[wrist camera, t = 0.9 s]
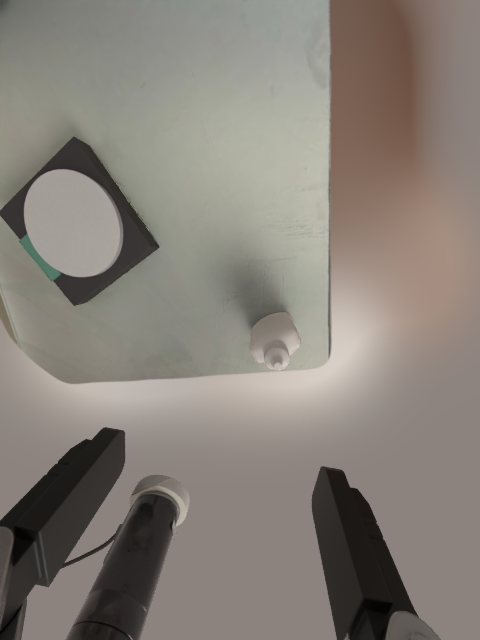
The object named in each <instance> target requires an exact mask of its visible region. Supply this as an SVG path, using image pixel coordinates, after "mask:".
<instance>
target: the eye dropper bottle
mask: <svg viewBox="0 0 480 640" xmlns="http://www.w3.org/2000/svg"><path fill="white" fill-rule="evenodd" d="M300 345H301V339H300V336H299V334H298V332H297V329H296V327H295V325H294V323H293V320H292V318H291V316H290V314H289V313H287V312H279V313H273V314H270V315H268V316H265V317H264V318H262V319H261V320H259V321H258V322H257V323H256V324H255V325H254V326H253V327H252V331H251V338H250V352H251V354H252V356H253V358H254V359H255V361H256V362H259V363H265V364H266V365H267V366H268V367H269V368H270V369H272V370H277V371H279V370H283V369H284V368H286V367H287V366H288V364H289V361H290V355H291V354H293V353H294V352H295V351H296V350H297V349H298V348H299V347H300Z"/></svg>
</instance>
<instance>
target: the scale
mask: <svg viewBox="0 0 480 640" xmlns="http://www.w3.org/2000/svg"><path fill="white" fill-rule="evenodd" d="M0 216H1V217H2V218H3V219H4V220H5V222H6V223H7V224H8V225H9V227H10V228H11V229H12V230H13V232H14V233H15V234H16V235H17V236H18V238H19V239H20V241H19V242H20V243H21V244H22V246H23V247H24V248H25V249H26V251H27V252H28V253H29V254H30V255H31V257H32V258H33V259H34V260H35V262H36V263H37V264H38V265H39V267H40V268H41V269H42V270H43V271H44V273H45V274H46V275H47V276H48V278H49V279H50V280H51V281H54V282H55V283H56V285H57V286H58V287H59V288H60V289H61V291H62V292H63V293H64V294H65V296H66V297H67V298H68V299H69V301H70V302H71V303H72V304H73V305H74V306H75V305H79V304H83V303H86V302H88V301H89V300H90V299H92V298H93V297H94V296H96V295H97V294H98V293H100V292H101V291H102V290H104V289H105V288H106V287H108V286H109V285H110V284H112V283H113V282H114V281H115V280H117V279H118V278H119V277H121V276H122V275H123V274H125V273H126V272H127V271H129V270H130V269H131V268H133V267H134V266H135V265H137V264H138V263H139V262H141V261H142V260H143V259H145V258H146V257H147V256H149V255H150V254H151V253H153V252H154V251H155V250H156V249H158V248H159V246H158V244H157V243H156V242H155V240H154V239H153V237H152V236H151V234H150V233H149V231H148V230H147V229H146V227H145V226H144V224H143V223H142V221H141V220H140V218H139V217H138V216H137V214H136V213H135V211H134V210H133V208H132V207H131V205H130V204H129V203H128V201H127V200H126V198H125V197H124V195H123V194H122V192H121V191H120V190H119V188H118V187H117V185H116V184H115V182H114V181H113V179H112V178H111V177H110V175H109V174H108V172H107V171H106V169H105V168H104V166H103V165H102V164H101V162H100V161H99V159H98V158H97V156H96V155H95V153H94V152H93V151H92V149H91V148H90V146H89V145H87V144H86V143H84V142H82V141H81V140H79V139H78V138H76V137H73V138H72V139H71V140H70V141H69V142H68V143H67V144H66V145H65V146H64V147H63V148H62V149H61V150H60V151H59V152H58V153H57V154H56V155H55V156H54V157H53V158H52V159H51V160H50V161H49V162H48V163H47V164H46V165H45V166H44V167H43V168H42V169H41V170H40V171H39V172H38V173H37V174H36V175H35V176H34V177H33V178H32V179H31V180H30V181H29V182H28V183H27V184H26V185H25V186H24V187H23V188H22V189H21V190H20V191H19V192H18V193H17V194H16V195H15V196H14V197H13V198H12V199H11V200H10V201H9V202H8V203H7V204H6V205H5V206H4V207H3V208H2V209H1V210H0Z"/></svg>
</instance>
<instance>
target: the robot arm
mask: <svg viewBox="0 0 480 640" xmlns="http://www.w3.org/2000/svg"><path fill="white" fill-rule="evenodd" d="M124 463H125V432H124V431H123V430H118V429H112V428H106V427H105V428H103V429H101V430H100V431H99V433H98V434H97V435H96V436H95V437H94V438H93V439H92V440H88V439H86V440H84V441H82V442H81V443H79V444H77V445H76V446H74V447H73V448H71V449H70V450H69V451H68V452H67V453H66V454H65V455H64V456H63V457H62V458H61V459H60V460H59V461H58V463H57V464H55V465H54V466H53V467H52V468H51V469H50V470H49V472H48V473H47V475H44V477H43V478H42V479H41V480H40V481H39V482H38V483H37V484H36V485H35V486H34V487H33V488H32V489H31V490H30V491H29V492H28V493H27V494H26V495H25V496H24V497H23V498H22V499H21V500H20V501H19V502H18V503H17V504H16V505H15V506H14V507H13V508H12V509H11V510H10V511H9V512H8V513H7V514H6V515H5V516H4V517H3V519H1V520H0V640H21V637H22V631H23V624H24V618H25V611H26V605H27V598H26V597H27V596H28V594H29V593H30V591H31V590H32V588H33V587H34V585H35V584H37V585H41V586H46V587H49V586H50V584H51V583H52V581H53V579H54V578H55V576H56V575H57V573H58V572H59V570H60V569H61V568H64V567H66V566H68V565H71V564H73V563H75V562H77V561H80V560H82V559H84V558H86V557H88V556H90V555H92V554H94V553H96V552H98V551H99V550H101V549H103V548H104V547H106V546H107V545H109V544H110V543H111V542H112V541H113V540H114V542H113V544H112V546H111V547H110V550H109V551H108V553H107V555H106V557H105V559H104V562H103V564H104V565H103V567H102V569H101V571H100V573H99V575H98V577H97V579H96V581H95V583H94V585H93V587H92V589H91V591H90V593H89V595H88V597H87V599H86V601H85V603H84V605H83V607H82V608H81V610H80V612H79V615H78V617H77V618H76V620H75V622H74V624H73V626H72V628H71V630H70V632H69V634H68V636H67V638H66V640H140V637H141V634H142V631H143V628H144V624H145V621H146V618H147V615H148V611H149V608H150V605H151V602H152V599H153V596H154V593H155V590H156V586H157V583H158V580H159V577H160V573H161V571H162V568H163V564H164V561H165V558H166V555H167V552H168V548H169V545H170V542H171V539H172V536H174V538H175V535H176V528H175V527H176V524H177V521H178V519H179V516H180V507H179V505H178V503H177V502H176V501H175V499H173V498H172V497H171V496H170V495H168V494H166V493H163V492H160V491H146V492H143V493H141V494H140V495H139V496H138V497H137V499H136V501H135V503H134V504H133V505H132V507H131V509H130V511H129V513H128V514H127V516H126V518H125V520H124V522H123V524H121V525H120V526H119V527H118V529H117V531H116V533H115V534H114V535H113V536H112V537H111V538H110V539H109V540H108V541H107V542H106V543H104V544H103V545H101V546H99V547H98V548H96V549H94V550H92V551H90V552H88V553H86V554H84V555H82V556H80V557H78V558H75V559H73V560H71V561H69V562H66V563H64V562H65V561H66V559H67V558H68V556H69V554H70V553H71V551H72V550H73V548H74V547H75V545H76V543H77V542H78V540H79V539H80V537H81V535H82V534H83V533H84V531H85V529H86V528H87V526H88V525H89V523H90V522H91V520H92V518H93V517H94V515H95V514H96V512H97V510H98V509H99V507H100V506H101V504H102V503H103V501H104V500H105V498H106V497H107V495H108V493H109V492H110V490H111V489H112V487H113V485H114V484H115V482H116V481H117V479H118V478H119V476H120V474H121V472H122V469H123V467H124ZM312 512H313V518H314V523H315V528H316V534H317V539H318V544H319V549H320V554H321V559H322V565H323V570H324V574H325V580H326V585H327V590H328V595H329V600H330V605H331V610H332V616H333V621H334V626H335V631H336V636H337V640H441V639H440V638H439V637H438V635H437V634H436V633H435V632H434V631H433V630H432V629H431V628H430V627H429V626H428V625H427V624H426V623H425V622H424V621H422V620H421V619H420V618H419V617H418V615H417V613H416V611H415V610H414V607H413V605H412V603H411V601H410V599H409V596H408V594H407V592H406V589H405V587H404V585H403V582H402V580H401V578H400V575H399V573H398V571H397V568H396V566H395V564H394V561H393V559H392V557H391V554H390V552H389V549H388V547H387V545H386V543H385V541H384V540H383V536H382V533H381V531H380V529H379V526H378V525H377V523H376V522H377V521H376V519H375V517H374V515H373V512H372V510H371V507H370V505H369V503H368V502H367V501H366V500H365V498H364V497H363V496H362V494H361V493H360V492H359V490H358V489H355V488H350V487H349V484H348V481H347V478H346V476H345V473H344V472H343V471H342V470H340V469H335V468H329V467H321V468H320V471H319V474H318V478H317V481H316V484H315V488H314V491H313V495H312Z"/></svg>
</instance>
